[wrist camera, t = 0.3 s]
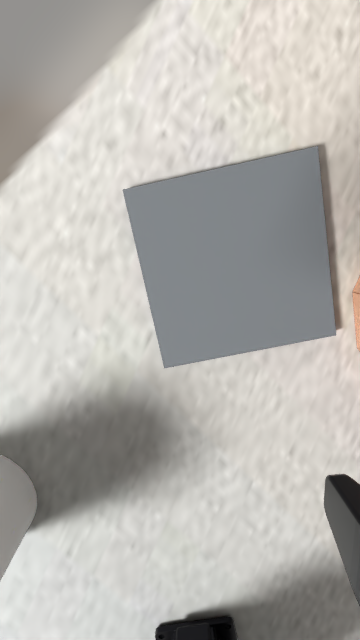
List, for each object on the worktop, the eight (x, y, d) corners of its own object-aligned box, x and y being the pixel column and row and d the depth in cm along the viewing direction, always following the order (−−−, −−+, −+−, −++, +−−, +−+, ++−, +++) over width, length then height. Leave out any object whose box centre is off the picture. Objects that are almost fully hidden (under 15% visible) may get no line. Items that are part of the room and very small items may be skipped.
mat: (331, 332, 21) (336, 335, 20) (165, 364, 22) (164, 368, 21) (313, 148, 18) (317, 145, 18) (124, 191, 19) (122, 189, 18)
